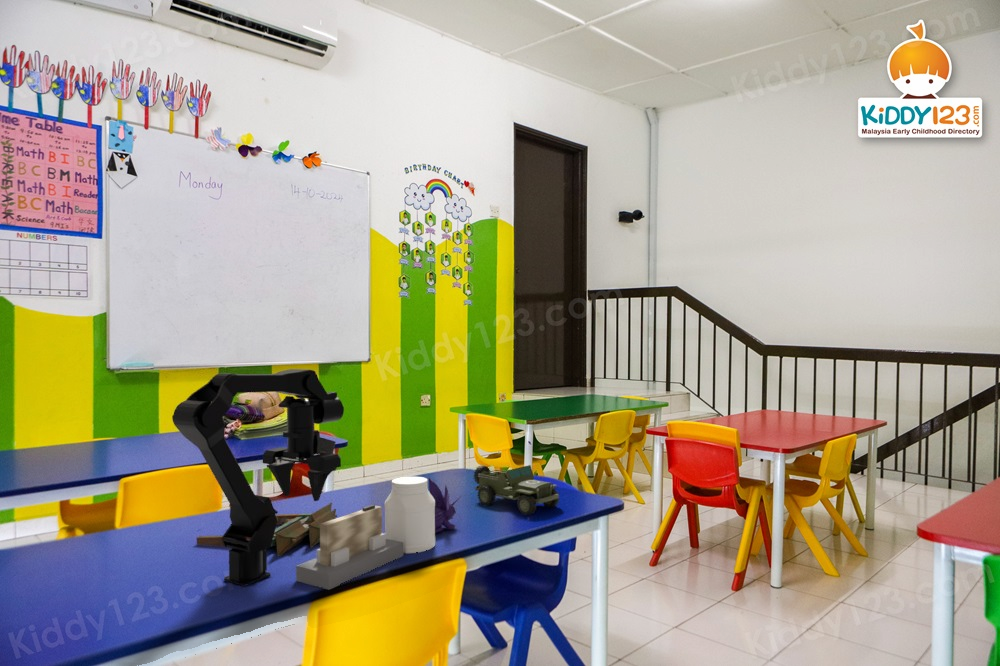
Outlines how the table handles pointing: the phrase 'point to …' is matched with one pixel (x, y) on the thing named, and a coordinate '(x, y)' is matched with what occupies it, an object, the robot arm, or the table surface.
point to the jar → (410, 514)
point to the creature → (442, 507)
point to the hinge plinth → (349, 563)
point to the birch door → (350, 532)
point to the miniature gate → (288, 530)
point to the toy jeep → (515, 488)
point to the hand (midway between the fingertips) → (301, 498)
